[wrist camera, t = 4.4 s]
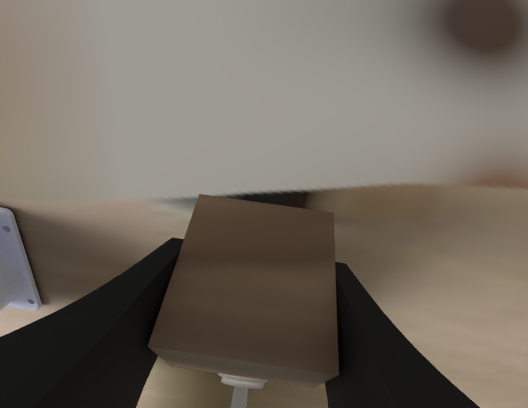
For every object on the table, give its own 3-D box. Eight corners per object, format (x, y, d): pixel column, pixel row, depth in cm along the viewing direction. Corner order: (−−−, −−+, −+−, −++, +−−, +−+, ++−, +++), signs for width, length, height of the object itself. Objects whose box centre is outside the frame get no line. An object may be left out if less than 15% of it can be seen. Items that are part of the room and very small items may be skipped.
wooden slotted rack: (196, 193, 10) (143, 345, 7) (336, 213, 10) (343, 375, 7) (220, 325, 24) (205, 397, 21) (280, 333, 24) (274, 408, 20)
